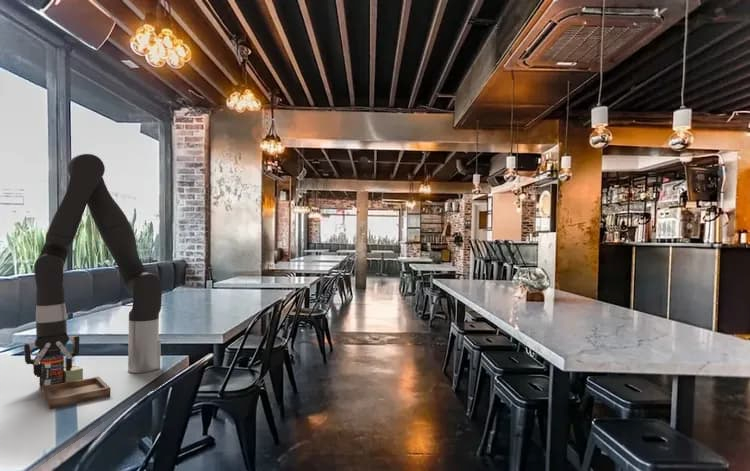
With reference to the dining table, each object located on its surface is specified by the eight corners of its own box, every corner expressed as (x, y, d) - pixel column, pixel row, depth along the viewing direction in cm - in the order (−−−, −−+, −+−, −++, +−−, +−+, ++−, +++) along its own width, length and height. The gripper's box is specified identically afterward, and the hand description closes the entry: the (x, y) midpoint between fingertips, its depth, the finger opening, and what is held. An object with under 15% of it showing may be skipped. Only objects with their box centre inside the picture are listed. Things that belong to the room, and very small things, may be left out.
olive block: (82, 368, 139) (82, 382, 139) (77, 365, 142) (77, 380, 142) (66, 371, 136) (66, 386, 136) (60, 369, 139) (60, 383, 139)
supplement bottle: (51, 389, 132) (51, 351, 132) (34, 388, 133) (34, 350, 133) (68, 383, 138) (68, 346, 138) (52, 382, 139) (51, 346, 139)
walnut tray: (98, 384, 137) (98, 376, 137) (110, 396, 127) (110, 387, 127) (42, 395, 127) (42, 386, 127) (49, 409, 117) (50, 399, 117)
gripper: (76, 314, 143) (78, 365, 143) (19, 321, 133) (21, 376, 133) (81, 317, 137) (83, 370, 138) (22, 324, 128) (24, 382, 128)
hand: (53, 373), depth 135 cm, fingers open, 6 cm apart
